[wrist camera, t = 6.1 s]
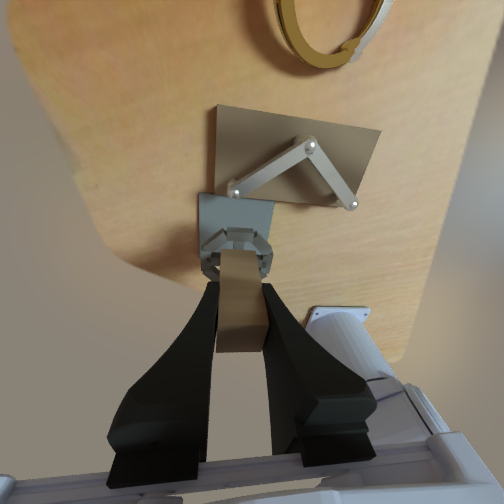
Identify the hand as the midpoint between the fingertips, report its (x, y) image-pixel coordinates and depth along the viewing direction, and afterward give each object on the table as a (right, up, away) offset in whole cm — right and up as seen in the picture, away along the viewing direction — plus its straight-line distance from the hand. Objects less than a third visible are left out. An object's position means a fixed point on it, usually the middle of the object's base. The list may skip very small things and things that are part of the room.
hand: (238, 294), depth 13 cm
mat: (-1, +5, +7) cm, 9 cm away
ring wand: (0, +2, +3) cm, 4 cm away
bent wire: (+4, +10, +4) cm, 11 cm away
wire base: (+4, +10, +4) cm, 11 cm away
